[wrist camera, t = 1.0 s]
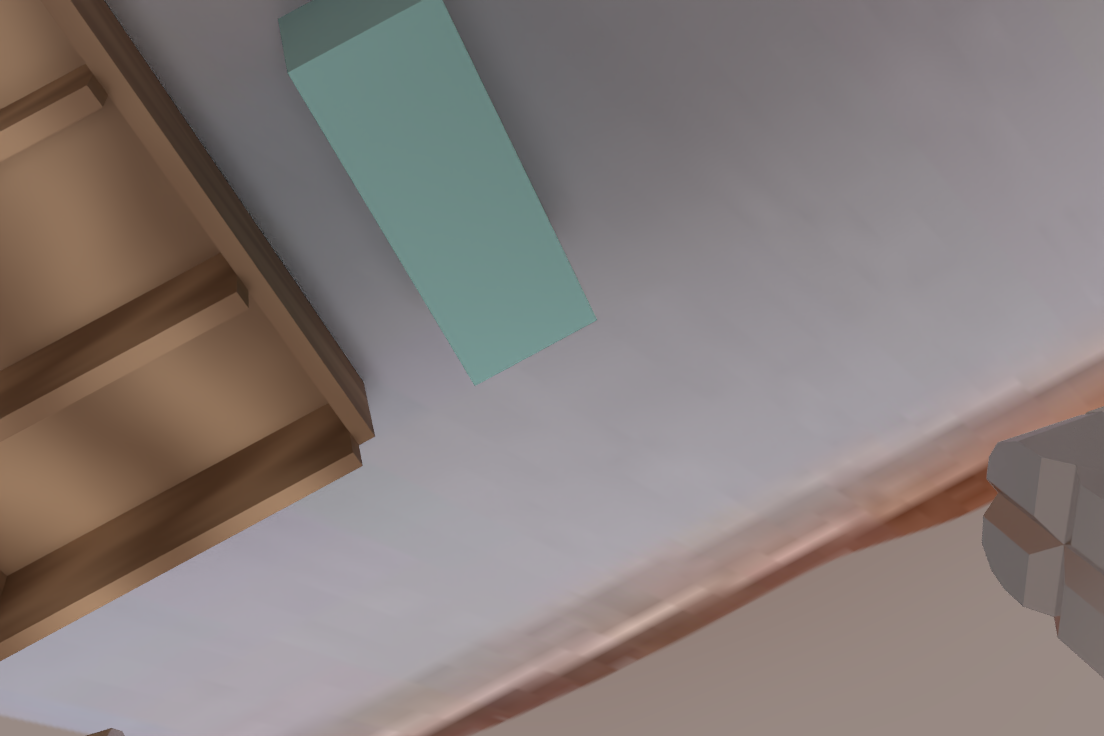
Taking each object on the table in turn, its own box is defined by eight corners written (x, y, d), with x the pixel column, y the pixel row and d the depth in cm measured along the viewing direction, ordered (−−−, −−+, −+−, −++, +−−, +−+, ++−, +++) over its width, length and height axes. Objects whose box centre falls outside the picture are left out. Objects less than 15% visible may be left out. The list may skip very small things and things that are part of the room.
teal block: (398, -46, 29) (438, -8, 23) (536, 232, 35) (597, 320, 29) (277, 18, 29) (287, 72, 23) (434, 286, 35) (474, 386, 29)
